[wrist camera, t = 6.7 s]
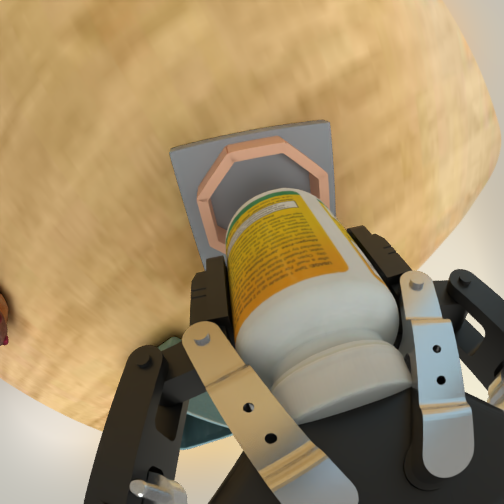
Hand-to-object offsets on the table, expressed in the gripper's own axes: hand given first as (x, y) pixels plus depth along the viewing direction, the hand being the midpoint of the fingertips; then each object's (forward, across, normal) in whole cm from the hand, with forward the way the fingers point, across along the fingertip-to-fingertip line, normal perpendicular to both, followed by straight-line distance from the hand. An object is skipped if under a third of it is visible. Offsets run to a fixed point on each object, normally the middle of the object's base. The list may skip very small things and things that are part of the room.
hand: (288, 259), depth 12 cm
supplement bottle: (+2, 0, 0) cm, 2 cm away
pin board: (+8, 0, +4) cm, 10 cm away
